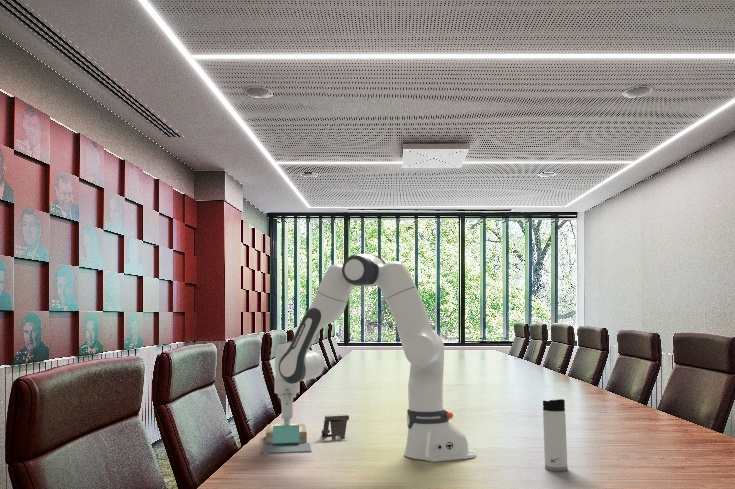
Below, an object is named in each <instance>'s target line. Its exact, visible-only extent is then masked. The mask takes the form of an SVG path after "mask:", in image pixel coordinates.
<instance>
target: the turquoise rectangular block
mask: <svg viewBox="0 0 735 489" xmlns="http://www.w3.org/2000/svg"><path fill="white" fill-rule="evenodd" d="M289 444H299V425H282V426H273V445H289Z"/></svg>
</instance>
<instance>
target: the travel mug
mask: <svg viewBox="0 0 735 489" xmlns="http://www.w3.org/2000/svg"><path fill="white" fill-rule="evenodd" d="M565 402H566V400H565V399H563V398H560V399H559V398H558V399H550V400H542V418H543V419H542V422H543V423H542V424H543V446H544V448H543V449H544V468H545V469H546V470H547V471H550V472H566V471H567V470H568V469H569V468H568V447H567V446H568V444H567V424H566V423H567V421H566V418H567V417H566V408H565V407H566V405H565V404H566V403H565Z"/></svg>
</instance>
